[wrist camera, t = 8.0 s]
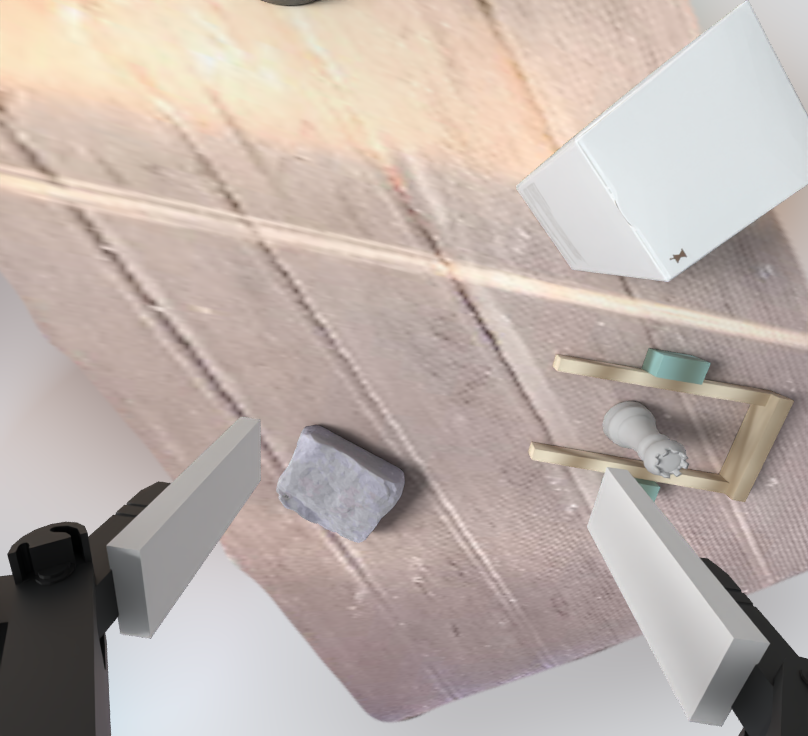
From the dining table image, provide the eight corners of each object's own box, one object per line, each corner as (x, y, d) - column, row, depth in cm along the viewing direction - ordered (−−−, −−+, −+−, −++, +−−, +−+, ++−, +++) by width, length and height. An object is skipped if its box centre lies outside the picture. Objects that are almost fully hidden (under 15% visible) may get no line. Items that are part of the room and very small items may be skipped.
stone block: (373, 521, 46) (413, 466, 42) (361, 557, 42) (405, 500, 37) (283, 472, 46) (313, 411, 41) (261, 503, 42) (293, 438, 37)
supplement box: (666, 202, 33) (846, 168, 19) (571, 272, 35) (668, 289, 21) (607, 106, 31) (756, -13, 17) (512, 185, 33) (572, 139, 19)
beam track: (523, 469, 41) (529, 483, 39) (561, 333, 37) (571, 339, 34) (718, 503, 41) (736, 519, 38) (780, 370, 36) (804, 379, 34)
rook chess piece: (592, 433, 39) (631, 479, 32) (613, 393, 38) (659, 431, 30) (634, 446, 39) (683, 496, 32) (657, 407, 38) (714, 449, 30)
